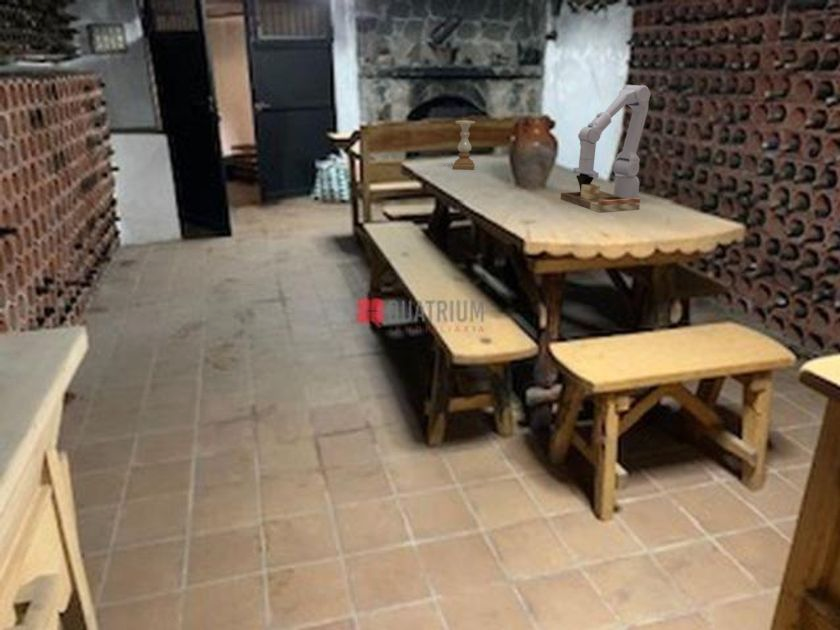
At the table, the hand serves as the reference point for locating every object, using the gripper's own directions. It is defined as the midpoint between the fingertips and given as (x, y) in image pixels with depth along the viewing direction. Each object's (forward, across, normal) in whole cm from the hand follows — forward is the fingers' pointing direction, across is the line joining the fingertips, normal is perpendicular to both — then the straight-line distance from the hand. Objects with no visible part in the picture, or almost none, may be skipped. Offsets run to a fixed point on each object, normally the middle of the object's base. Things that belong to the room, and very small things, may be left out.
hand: (583, 193), depth 260 cm
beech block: (+1, +4, 0) cm, 4 cm away
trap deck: (+3, +5, +4) cm, 7 cm away
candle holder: (+4, -99, -8) cm, 99 cm away
